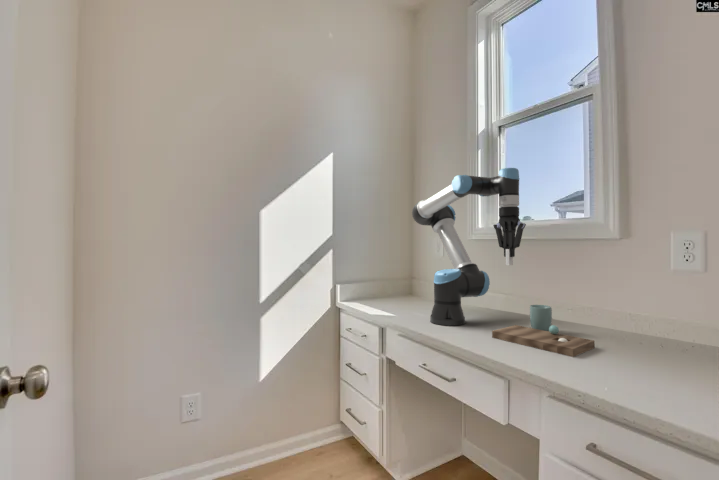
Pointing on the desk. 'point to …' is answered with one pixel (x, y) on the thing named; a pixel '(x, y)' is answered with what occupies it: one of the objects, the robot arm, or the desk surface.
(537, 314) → the cup
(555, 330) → the teal ball
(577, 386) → the desk surface
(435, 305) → the robot arm
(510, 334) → the board
